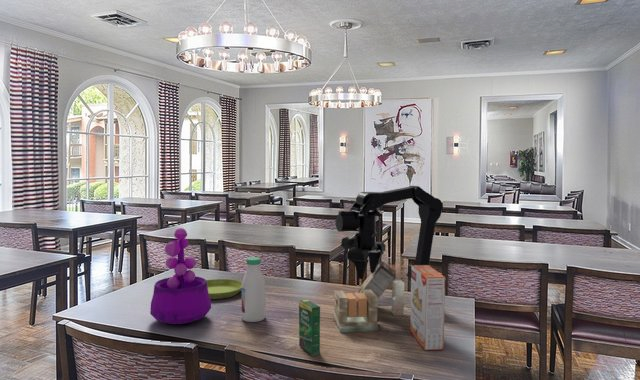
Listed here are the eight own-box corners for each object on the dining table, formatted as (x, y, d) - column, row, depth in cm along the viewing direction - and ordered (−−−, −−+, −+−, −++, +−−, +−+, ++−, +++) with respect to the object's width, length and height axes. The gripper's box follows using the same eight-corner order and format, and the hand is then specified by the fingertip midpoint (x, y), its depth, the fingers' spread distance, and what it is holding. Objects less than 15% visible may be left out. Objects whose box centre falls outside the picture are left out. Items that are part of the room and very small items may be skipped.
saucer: (254, 291, 178) (254, 283, 178) (216, 305, 161) (216, 296, 161) (216, 283, 189) (216, 275, 189) (177, 295, 172) (177, 287, 172)
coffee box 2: (297, 345, 127) (298, 299, 126) (306, 343, 129) (307, 298, 128) (310, 356, 120) (311, 308, 119) (320, 354, 121) (321, 306, 121)
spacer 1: (352, 310, 146) (352, 293, 146) (356, 317, 140) (356, 298, 140) (344, 311, 146) (344, 293, 145) (348, 317, 140) (348, 299, 140)
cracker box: (408, 331, 138) (410, 264, 137) (427, 331, 139) (430, 264, 137) (422, 351, 124) (425, 276, 123) (444, 350, 125) (446, 276, 123)
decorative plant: (187, 335, 133) (186, 234, 131) (137, 326, 140) (135, 230, 138) (222, 314, 151) (222, 225, 149) (176, 307, 157) (175, 222, 155)
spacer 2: (361, 310, 147) (362, 292, 146) (366, 316, 141) (366, 298, 141) (354, 310, 146) (354, 293, 146) (358, 316, 141) (359, 298, 140)
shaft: (400, 311, 147) (401, 280, 147) (403, 315, 144) (404, 282, 144) (338, 314, 144) (339, 282, 143) (340, 317, 141) (341, 284, 140)
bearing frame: (368, 317, 150) (369, 287, 150) (378, 330, 139) (379, 298, 138) (333, 318, 149) (333, 288, 148) (340, 332, 137) (340, 300, 136)
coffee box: (353, 293, 164) (380, 259, 162) (367, 304, 164) (395, 270, 162) (352, 301, 155) (381, 265, 153) (367, 313, 155) (396, 277, 153)
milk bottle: (269, 316, 150) (269, 257, 149) (258, 324, 143) (259, 261, 141) (248, 313, 153) (248, 255, 151) (237, 321, 145) (237, 259, 144)
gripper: (357, 224, 162) (357, 267, 164) (332, 232, 146) (332, 279, 147) (386, 226, 157) (385, 270, 158) (363, 234, 141) (363, 284, 142)
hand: (366, 275), depth 151 cm, fingers open, 9 cm apart
